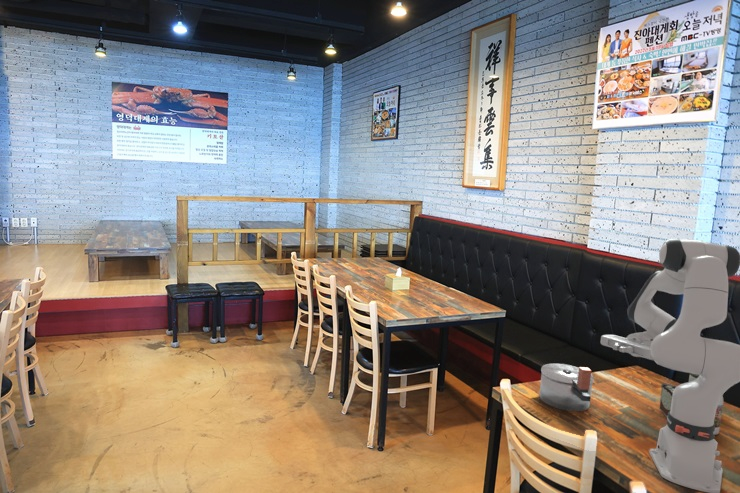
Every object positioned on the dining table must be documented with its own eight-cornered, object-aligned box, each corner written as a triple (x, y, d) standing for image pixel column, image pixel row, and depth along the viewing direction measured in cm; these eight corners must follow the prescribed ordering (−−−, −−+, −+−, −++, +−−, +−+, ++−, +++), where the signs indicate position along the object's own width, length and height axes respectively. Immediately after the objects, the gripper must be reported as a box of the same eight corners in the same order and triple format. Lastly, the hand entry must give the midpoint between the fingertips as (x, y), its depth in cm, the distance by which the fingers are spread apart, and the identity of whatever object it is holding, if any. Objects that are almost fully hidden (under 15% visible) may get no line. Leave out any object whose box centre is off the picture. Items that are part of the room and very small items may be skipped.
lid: (534, 364, 196) (536, 344, 195) (581, 368, 195) (583, 348, 194) (557, 391, 170) (560, 368, 169) (610, 394, 170) (613, 372, 169)
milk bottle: (686, 425, 173) (695, 371, 170) (703, 423, 175) (711, 370, 173) (707, 436, 166) (716, 380, 163) (724, 434, 168) (733, 378, 165)
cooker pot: (530, 388, 197) (533, 364, 196) (573, 390, 198) (576, 366, 197) (558, 419, 171) (562, 392, 170) (608, 421, 172) (612, 394, 171)
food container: (689, 424, 174) (693, 397, 173) (670, 421, 175) (674, 395, 174) (675, 409, 186) (679, 384, 185) (658, 406, 187) (661, 382, 186)
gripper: (613, 329, 194) (592, 332, 186) (667, 344, 177) (647, 348, 169) (611, 344, 194) (590, 348, 187) (664, 361, 177) (644, 366, 170)
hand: (618, 348), depth 178 cm, fingers closed
